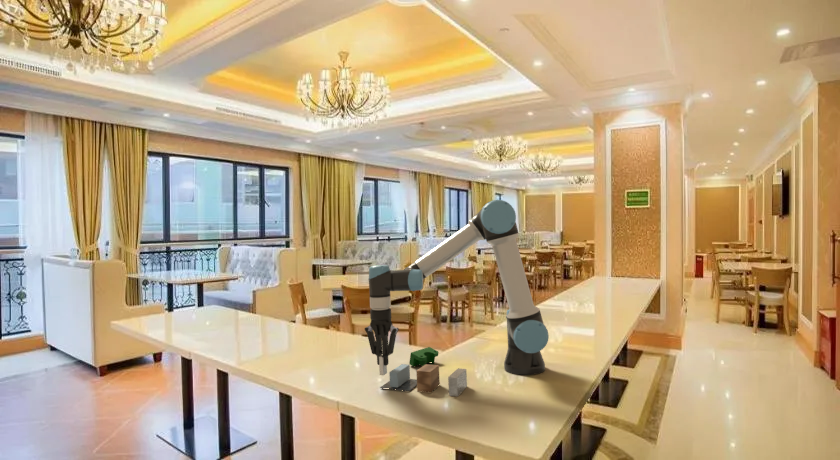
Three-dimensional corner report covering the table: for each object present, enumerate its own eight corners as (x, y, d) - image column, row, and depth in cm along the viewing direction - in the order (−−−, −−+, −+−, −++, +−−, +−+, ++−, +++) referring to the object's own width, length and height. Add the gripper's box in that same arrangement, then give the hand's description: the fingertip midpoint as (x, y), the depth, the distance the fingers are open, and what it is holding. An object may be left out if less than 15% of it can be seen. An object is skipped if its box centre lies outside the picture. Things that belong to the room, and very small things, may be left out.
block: (439, 385, 157) (438, 365, 157) (431, 393, 150) (430, 371, 150) (426, 384, 159) (425, 364, 159) (417, 391, 152) (416, 370, 152)
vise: (467, 386, 155) (466, 368, 155) (457, 397, 145) (456, 378, 145) (394, 379, 166) (393, 362, 166) (380, 388, 156) (379, 371, 156)
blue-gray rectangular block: (410, 378, 163) (409, 364, 163) (397, 387, 154) (397, 372, 154) (402, 377, 164) (401, 364, 164) (389, 386, 155) (389, 372, 155)
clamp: (421, 378, 179) (418, 361, 175) (411, 372, 183) (407, 355, 179) (441, 361, 187) (438, 343, 183) (430, 355, 191) (427, 338, 187)
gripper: (401, 307, 163) (404, 372, 162) (369, 306, 168) (372, 369, 168) (391, 310, 156) (394, 378, 156) (359, 309, 161) (362, 375, 161)
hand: (383, 374), depth 162 cm, fingers closed
